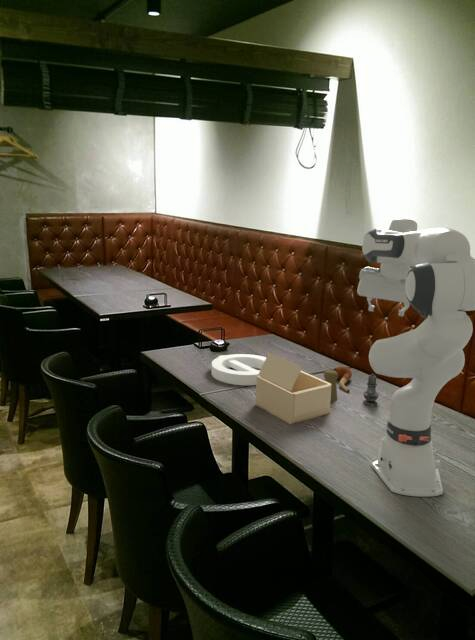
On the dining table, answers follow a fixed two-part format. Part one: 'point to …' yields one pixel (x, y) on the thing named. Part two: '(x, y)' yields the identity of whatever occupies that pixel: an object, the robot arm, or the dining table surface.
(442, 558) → the dining table surface
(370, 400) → the grey chess piece
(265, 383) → the carton
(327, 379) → the cork
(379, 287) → the robot arm
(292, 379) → the carton flap
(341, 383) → the smoking pipe
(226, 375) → the ring with crossbar
